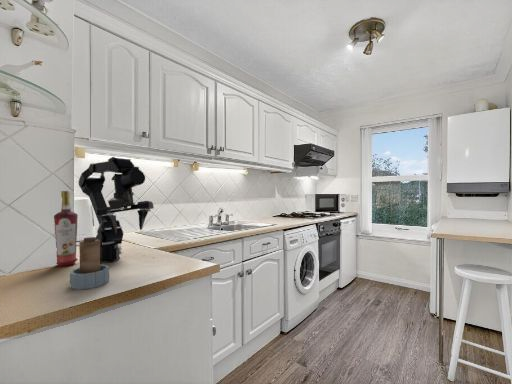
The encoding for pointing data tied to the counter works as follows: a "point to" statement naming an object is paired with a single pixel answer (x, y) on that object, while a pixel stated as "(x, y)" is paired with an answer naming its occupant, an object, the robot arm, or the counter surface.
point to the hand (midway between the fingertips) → (128, 231)
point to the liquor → (66, 232)
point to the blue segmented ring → (89, 278)
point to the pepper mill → (89, 255)
